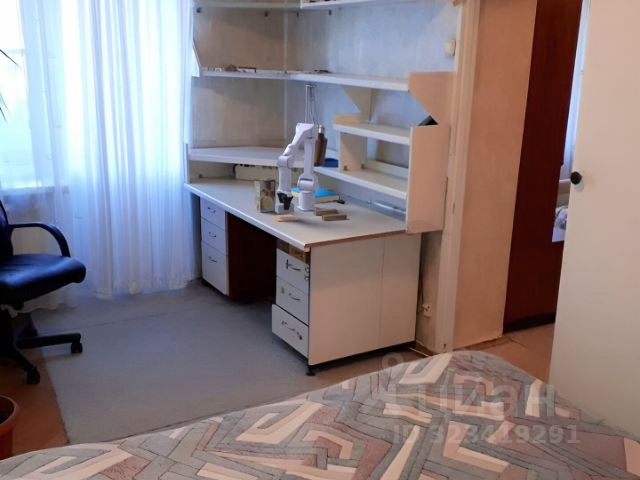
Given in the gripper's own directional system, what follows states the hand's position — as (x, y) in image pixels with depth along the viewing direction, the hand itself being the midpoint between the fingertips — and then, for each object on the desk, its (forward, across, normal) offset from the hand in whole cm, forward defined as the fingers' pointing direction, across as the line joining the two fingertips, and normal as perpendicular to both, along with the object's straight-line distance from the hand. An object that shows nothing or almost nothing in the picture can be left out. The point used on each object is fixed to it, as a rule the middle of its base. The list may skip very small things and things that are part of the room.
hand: (284, 208), depth 322 cm
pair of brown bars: (+5, +2, +23) cm, 24 cm away
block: (+2, 0, 0) cm, 2 cm away
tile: (+5, 0, 0) cm, 5 cm away
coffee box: (+5, -19, -4) cm, 20 cm away
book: (+6, -42, +32) cm, 53 cm away
